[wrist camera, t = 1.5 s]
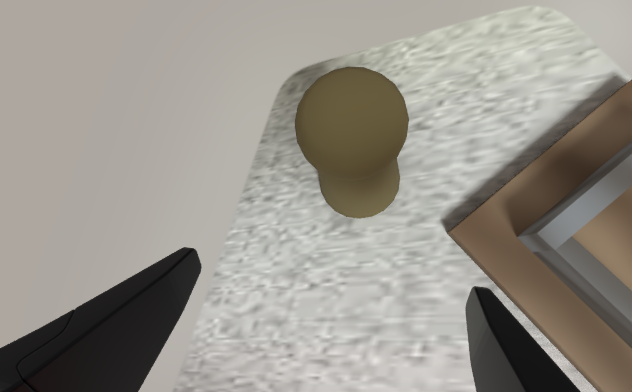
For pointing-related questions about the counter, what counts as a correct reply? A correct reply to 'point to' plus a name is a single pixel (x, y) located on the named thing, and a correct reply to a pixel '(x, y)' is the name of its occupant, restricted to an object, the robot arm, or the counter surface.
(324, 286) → the counter surface
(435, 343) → the counter surface
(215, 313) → the counter surface
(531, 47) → the counter surface
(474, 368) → the robot arm
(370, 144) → the cork
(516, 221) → the socket base
